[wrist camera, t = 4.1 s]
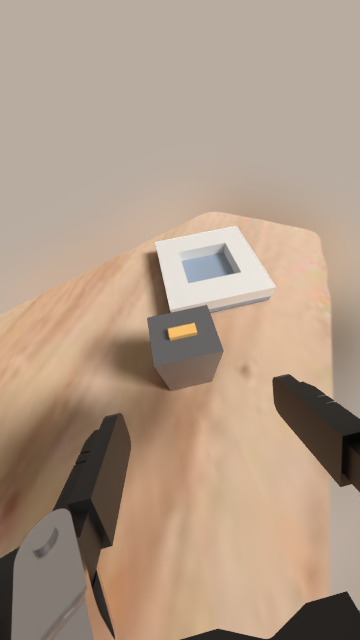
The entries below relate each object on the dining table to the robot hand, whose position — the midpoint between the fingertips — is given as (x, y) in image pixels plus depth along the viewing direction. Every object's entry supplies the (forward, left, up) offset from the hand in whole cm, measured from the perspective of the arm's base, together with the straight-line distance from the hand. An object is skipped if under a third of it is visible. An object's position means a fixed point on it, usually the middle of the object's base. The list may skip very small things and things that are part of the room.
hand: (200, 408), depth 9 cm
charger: (0, +5, -9) cm, 10 cm away
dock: (+6, +18, -9) cm, 21 cm away
